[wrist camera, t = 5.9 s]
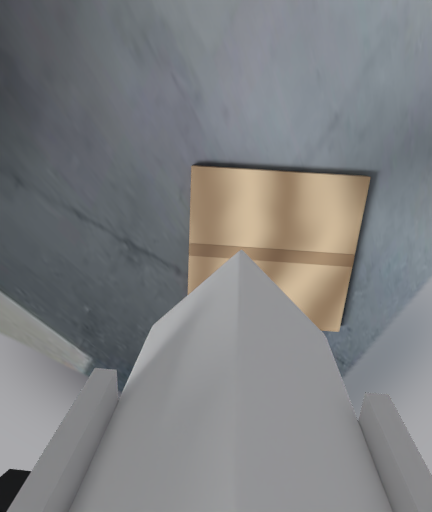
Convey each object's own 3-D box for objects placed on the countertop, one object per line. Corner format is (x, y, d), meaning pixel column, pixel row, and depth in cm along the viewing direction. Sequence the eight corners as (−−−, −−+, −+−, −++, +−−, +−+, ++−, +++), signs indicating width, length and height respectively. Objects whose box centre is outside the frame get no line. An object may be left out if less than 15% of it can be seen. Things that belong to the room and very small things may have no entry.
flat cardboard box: (188, 316, 36) (186, 320, 36) (192, 165, 31) (191, 166, 30) (336, 327, 36) (339, 332, 35) (367, 175, 31) (370, 177, 30)
